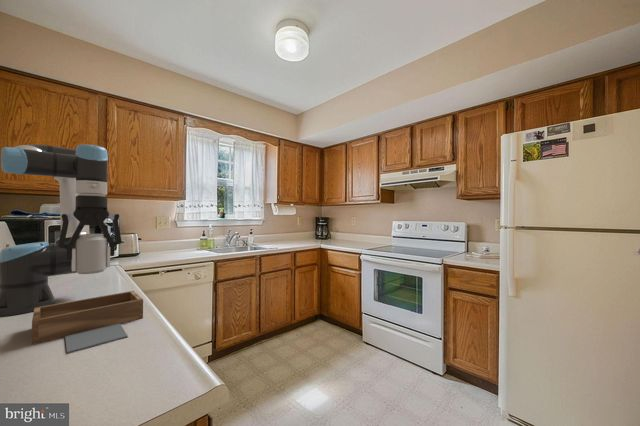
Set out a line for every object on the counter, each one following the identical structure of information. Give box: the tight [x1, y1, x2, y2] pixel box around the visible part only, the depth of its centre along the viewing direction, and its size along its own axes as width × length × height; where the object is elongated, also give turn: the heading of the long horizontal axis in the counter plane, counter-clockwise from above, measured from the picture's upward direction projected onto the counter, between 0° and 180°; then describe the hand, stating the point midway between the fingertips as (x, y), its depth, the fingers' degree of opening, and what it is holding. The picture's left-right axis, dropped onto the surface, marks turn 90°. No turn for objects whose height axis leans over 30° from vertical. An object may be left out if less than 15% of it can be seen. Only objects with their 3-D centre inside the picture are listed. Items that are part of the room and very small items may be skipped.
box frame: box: [31, 290, 144, 345], centre depth 82 cm, size 14×24×6 cm, turn 136°
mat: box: [64, 323, 129, 355], centre depth 72 cm, size 12×12×1 cm
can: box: [75, 233, 108, 275], centre depth 82 cm, size 8×8×12 cm
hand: (91, 268), depth 82 cm, fingers closed on can, 7 cm apart
